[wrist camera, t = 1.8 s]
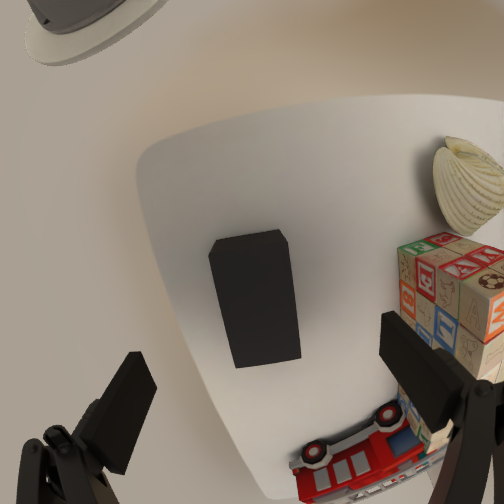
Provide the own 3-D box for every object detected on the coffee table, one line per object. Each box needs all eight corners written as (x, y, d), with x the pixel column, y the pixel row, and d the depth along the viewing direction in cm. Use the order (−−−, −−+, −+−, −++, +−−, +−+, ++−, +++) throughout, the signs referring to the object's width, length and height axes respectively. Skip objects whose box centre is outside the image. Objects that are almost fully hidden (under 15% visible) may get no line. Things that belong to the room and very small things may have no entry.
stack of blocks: (435, 386, 26) (479, 446, 15) (395, 405, 27) (434, 474, 15) (445, 229, 21) (541, 265, 9) (395, 246, 22) (493, 299, 10)
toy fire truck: (421, 415, 28) (449, 461, 18) (310, 472, 30) (319, 523, 21) (412, 385, 26) (448, 439, 17) (282, 452, 29) (289, 513, 19)
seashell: (461, 111, 16) (522, 170, 14) (429, 166, 24) (479, 215, 21) (438, 140, 14) (514, 218, 12) (397, 205, 22) (456, 264, 19)
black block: (215, 239, 21) (207, 254, 17) (279, 229, 21) (287, 241, 17) (237, 337, 24) (235, 368, 19) (293, 328, 23) (301, 358, 19)
